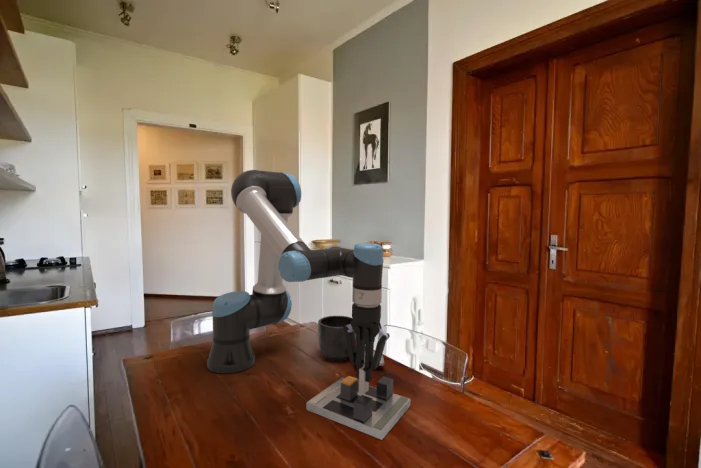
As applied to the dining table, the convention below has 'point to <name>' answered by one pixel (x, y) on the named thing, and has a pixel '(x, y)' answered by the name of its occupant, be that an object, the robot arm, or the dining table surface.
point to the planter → (333, 337)
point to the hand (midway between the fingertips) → (363, 391)
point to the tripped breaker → (349, 388)
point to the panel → (354, 423)
